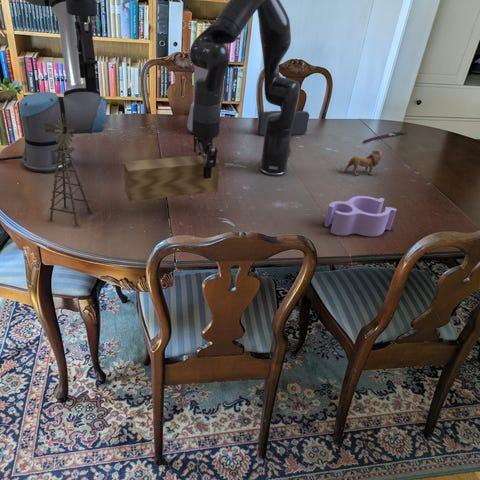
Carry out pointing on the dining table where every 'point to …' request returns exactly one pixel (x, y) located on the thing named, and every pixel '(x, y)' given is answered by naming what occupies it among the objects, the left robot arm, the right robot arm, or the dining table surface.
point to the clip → (359, 216)
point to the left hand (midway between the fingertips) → (88, 84)
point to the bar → (168, 177)
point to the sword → (382, 136)
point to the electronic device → (197, 74)
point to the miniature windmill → (60, 149)
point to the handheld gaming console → (297, 127)
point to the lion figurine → (365, 162)
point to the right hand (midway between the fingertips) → (203, 172)
